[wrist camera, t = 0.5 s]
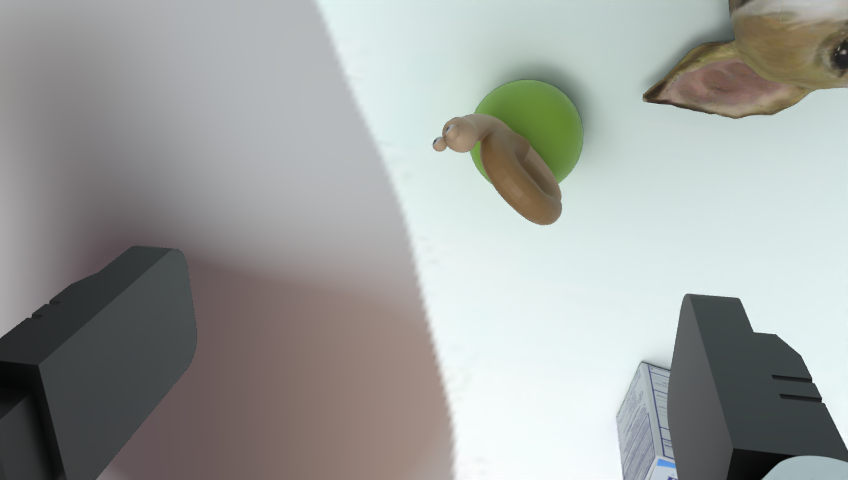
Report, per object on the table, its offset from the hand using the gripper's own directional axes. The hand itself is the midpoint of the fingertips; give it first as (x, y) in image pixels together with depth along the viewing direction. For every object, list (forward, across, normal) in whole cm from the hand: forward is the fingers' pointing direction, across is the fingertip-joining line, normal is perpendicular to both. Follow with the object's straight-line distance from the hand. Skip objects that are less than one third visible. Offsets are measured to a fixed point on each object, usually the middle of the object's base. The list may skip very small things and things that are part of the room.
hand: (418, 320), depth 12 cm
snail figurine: (+28, 0, +4) cm, 28 cm away
